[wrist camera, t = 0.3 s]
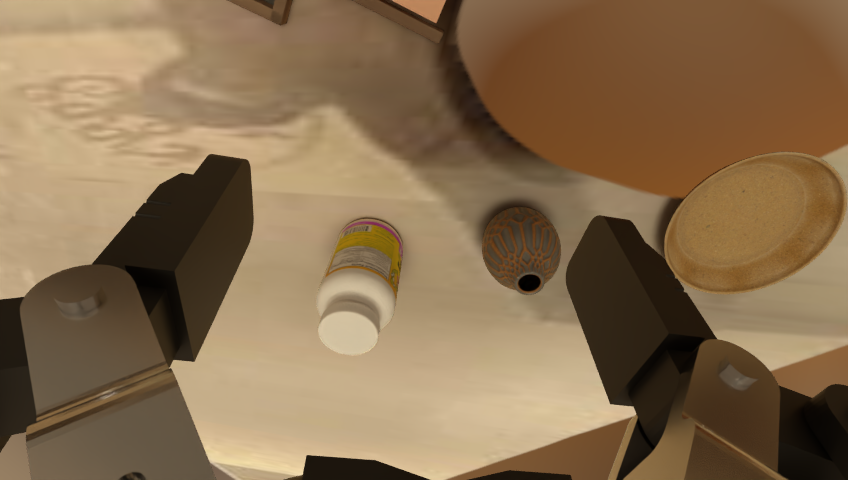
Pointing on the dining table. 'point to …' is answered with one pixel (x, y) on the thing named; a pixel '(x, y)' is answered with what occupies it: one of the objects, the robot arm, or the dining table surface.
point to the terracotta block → (424, 7)
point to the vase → (521, 249)
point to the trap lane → (276, 3)
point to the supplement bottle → (359, 286)
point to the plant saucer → (755, 222)
